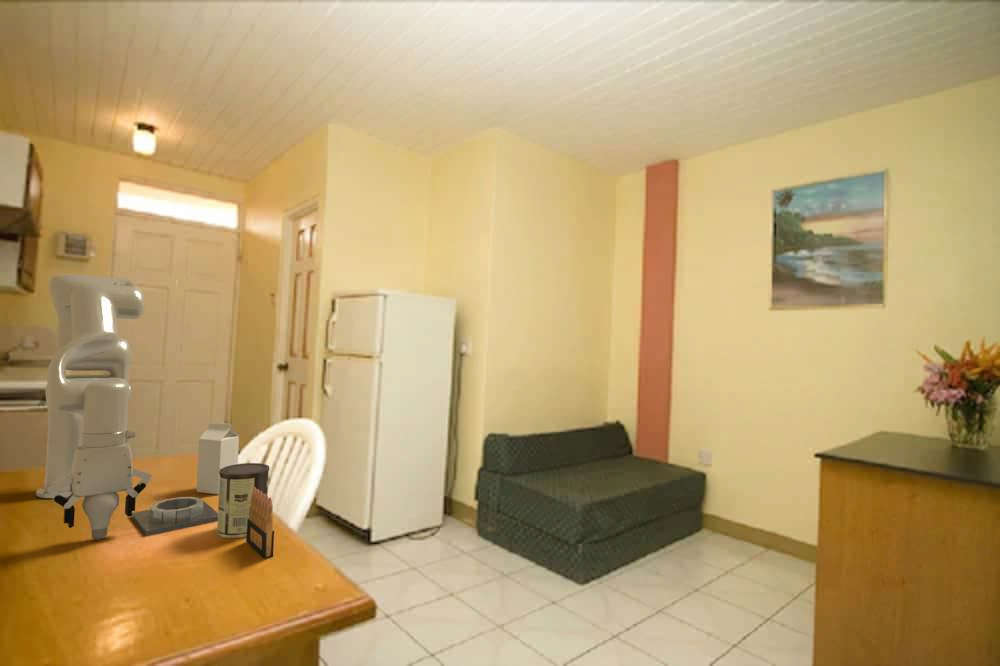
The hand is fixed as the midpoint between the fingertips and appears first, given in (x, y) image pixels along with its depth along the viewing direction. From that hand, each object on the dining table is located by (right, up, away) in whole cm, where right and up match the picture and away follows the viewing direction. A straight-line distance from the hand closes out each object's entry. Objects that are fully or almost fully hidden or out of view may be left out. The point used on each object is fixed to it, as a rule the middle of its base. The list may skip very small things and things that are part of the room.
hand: (100, 520), depth 105 cm
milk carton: (+4, -5, +36) cm, 36 cm away
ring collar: (+7, -5, +13) cm, 16 cm away
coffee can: (+26, -6, +9) cm, 28 cm away
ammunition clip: (+34, -6, -1) cm, 35 cm away
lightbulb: (0, -4, 0) cm, 4 cm away
